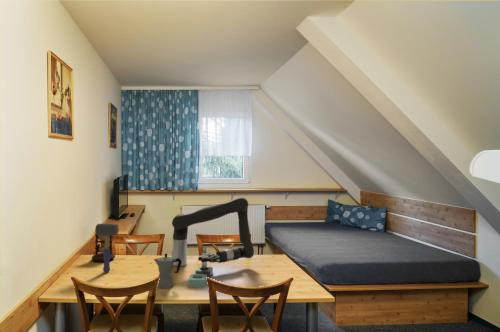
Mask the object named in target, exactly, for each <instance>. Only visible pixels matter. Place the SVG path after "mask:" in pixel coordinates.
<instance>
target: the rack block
mask: <svg viewBox="0 0 500 332" xmlns="http://www.w3.org/2000/svg"><path fill="white" fill-rule="evenodd" d="M206 277H207V275H204V274H195V273H191V274H190V275H189V277H188V278H187V287H188V286H192V287H191V288H205V287H206V284H207V283H206Z"/></svg>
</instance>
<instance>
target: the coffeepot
mask: <svg viewBox="0 0 500 332" xmlns="http://www.w3.org/2000/svg"><path fill="white" fill-rule="evenodd" d="M153 261H154V262H155V263H156V265H157V266H158V271H159V273H158V277H159V278H160V280H159V283H158V282H157V283H158V287H157V288H158V289H162V290H167V289H171V288H173V287H174V279H173V273H172V272H173V271H174V270H173V269H174V265H173V264H174V262H179V263H178V266H176V270H175V271H174V274H178V273H179V270H180V268H181V267H182V266H181V263H182V261H181V260H180V259H179V258H173V257H172V256H168V253H164V256H162V257H157V258H154V259H153Z"/></svg>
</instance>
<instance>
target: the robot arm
mask: <svg viewBox="0 0 500 332" xmlns="http://www.w3.org/2000/svg"><path fill="white" fill-rule="evenodd" d="M248 208H249V202H248V200H247V198H246V197H237V198H235V199H233V200H231V201H227V202H225V203H224V202H223V203H219V204H213V205H212V204H211V205H210V206H206V207H205V206H204V207H202V208H200V209H198V210H196V211H194V212H191V213H186V214H183V213H179V214H177V215H176V216H174V217H173V219H172V222H171V224H172V227H173V232H172V233H173V234H172V250H171V257H173V258H179V259H180V260H181V261H182V263H181V266H180V267H183V266H186V265H187V264H188V263H187V259H188V257H187V256H188V255H187V254H188V249H187V248H188V233H189V232H188V231H189V228H188V227H190V226H192V225H196V224H201V223H206V222H210V221H213V220H217V219H221V218H222V217H225V216H227V215H230V214H234V213H237V217H238V219H237V220H238V235H239V242H240V244H242V245H243V246H240V247H237V248H229V249H228V248H227V249H220V250H217V251H216V253H210V252H207V258H202V256H198V259H197V260H198V261H199V262H201V263H202V262H207V263H210V264H211V263H219V264H222V263H227V262H231V261H236V260H239V259H252V258H253V257H254V254H255V251H254V250H255V249H254V246H253V243H252V240H251V232H250V225H249V219H248V213H249V212H248V211H249V209H248ZM178 263H179V262H174V264H173V267H178Z"/></svg>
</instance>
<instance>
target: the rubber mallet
mask: <svg viewBox="0 0 500 332" xmlns="http://www.w3.org/2000/svg"><path fill="white" fill-rule="evenodd" d="M119 229H120V228H119V224H118V223H105V222H104V223H97V224H96V226H95V234H96V235H102V236H105V249H104V252H103V253H104V255H103V257H104V261H103V268H102V272H103V273H109V272H110V271H111V267H110V263H111V262H110V261H111V259H110V249H109V239H110V238H109V236H112V237H113V236H117V235H118V234H119Z"/></svg>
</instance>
